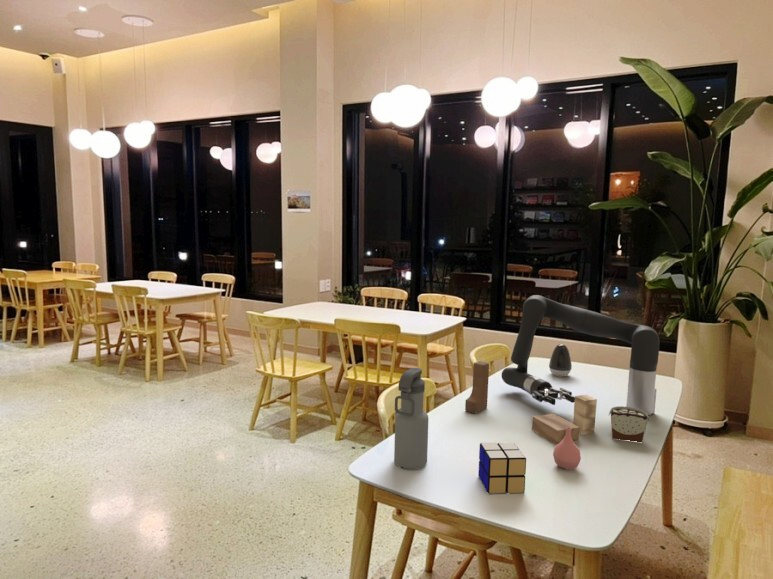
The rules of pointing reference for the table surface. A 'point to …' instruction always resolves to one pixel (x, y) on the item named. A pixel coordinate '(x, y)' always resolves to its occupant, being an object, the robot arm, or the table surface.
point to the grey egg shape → (560, 361)
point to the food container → (628, 423)
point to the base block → (554, 427)
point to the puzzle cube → (502, 468)
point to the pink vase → (567, 452)
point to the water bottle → (411, 422)
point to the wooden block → (478, 388)
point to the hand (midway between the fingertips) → (564, 401)
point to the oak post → (585, 413)
